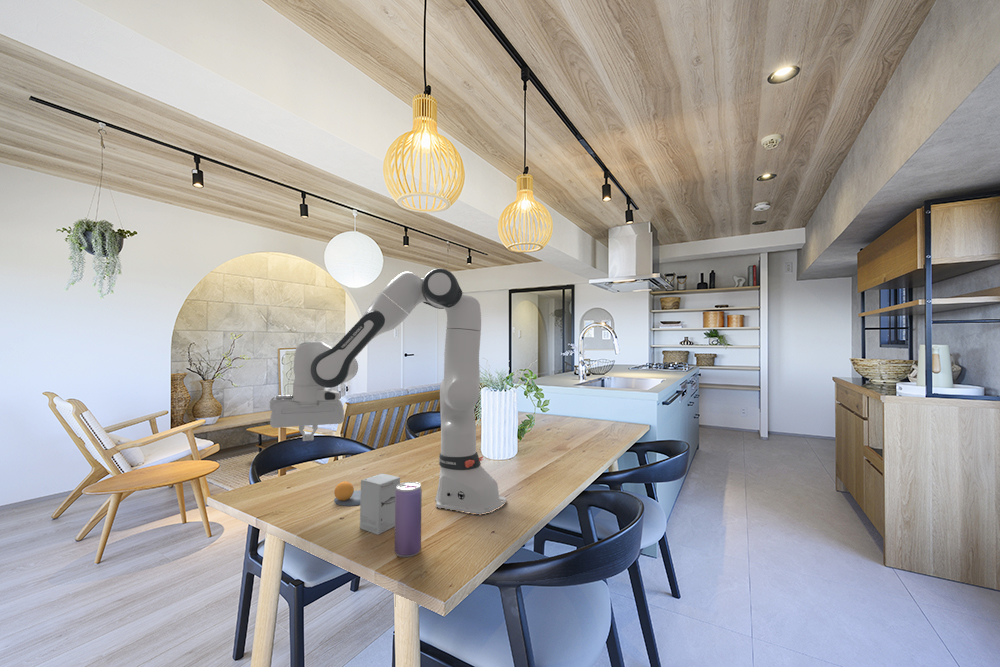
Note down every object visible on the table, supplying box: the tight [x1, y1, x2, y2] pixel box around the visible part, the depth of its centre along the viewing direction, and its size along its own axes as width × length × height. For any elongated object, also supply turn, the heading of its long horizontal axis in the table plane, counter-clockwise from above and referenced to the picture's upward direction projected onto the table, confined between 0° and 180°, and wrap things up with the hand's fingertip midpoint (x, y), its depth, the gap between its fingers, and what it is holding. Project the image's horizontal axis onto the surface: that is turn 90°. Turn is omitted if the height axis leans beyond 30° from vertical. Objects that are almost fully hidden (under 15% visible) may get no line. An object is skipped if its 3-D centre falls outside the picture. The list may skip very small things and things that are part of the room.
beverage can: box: [394, 481, 423, 558], centre depth 93 cm, size 6×6×15 cm
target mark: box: [333, 489, 361, 507], centre depth 126 cm, size 13×13×1 cm
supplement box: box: [359, 473, 401, 536], centre depth 106 cm, size 7×7×13 cm
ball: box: [333, 481, 355, 501], centre depth 124 cm, size 6×6×6 cm
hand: (308, 440), depth 122 cm, fingers closed
